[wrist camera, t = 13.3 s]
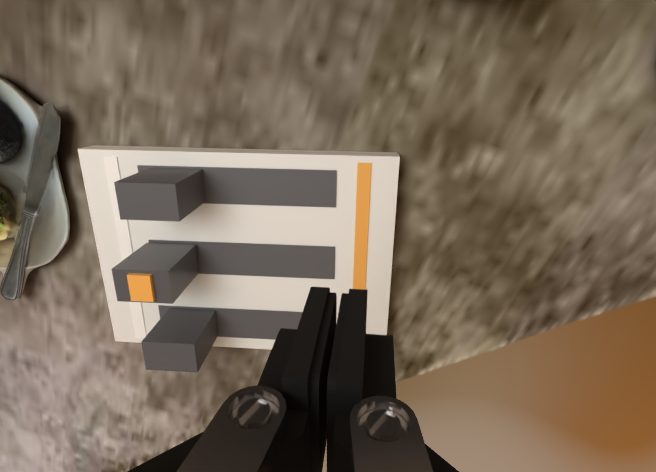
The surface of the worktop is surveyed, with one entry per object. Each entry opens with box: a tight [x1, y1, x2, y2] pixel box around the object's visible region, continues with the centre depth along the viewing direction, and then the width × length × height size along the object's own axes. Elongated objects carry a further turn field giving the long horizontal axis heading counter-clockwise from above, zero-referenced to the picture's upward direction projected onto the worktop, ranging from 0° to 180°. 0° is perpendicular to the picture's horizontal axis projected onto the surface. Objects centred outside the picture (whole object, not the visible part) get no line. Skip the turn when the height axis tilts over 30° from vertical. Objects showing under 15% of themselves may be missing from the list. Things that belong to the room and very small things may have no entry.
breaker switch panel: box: [78, 145, 400, 372], centre depth 32 cm, size 24×17×7 cm
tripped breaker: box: [111, 243, 199, 304], centre depth 31 cm, size 4×2×5 cm, turn 89°
